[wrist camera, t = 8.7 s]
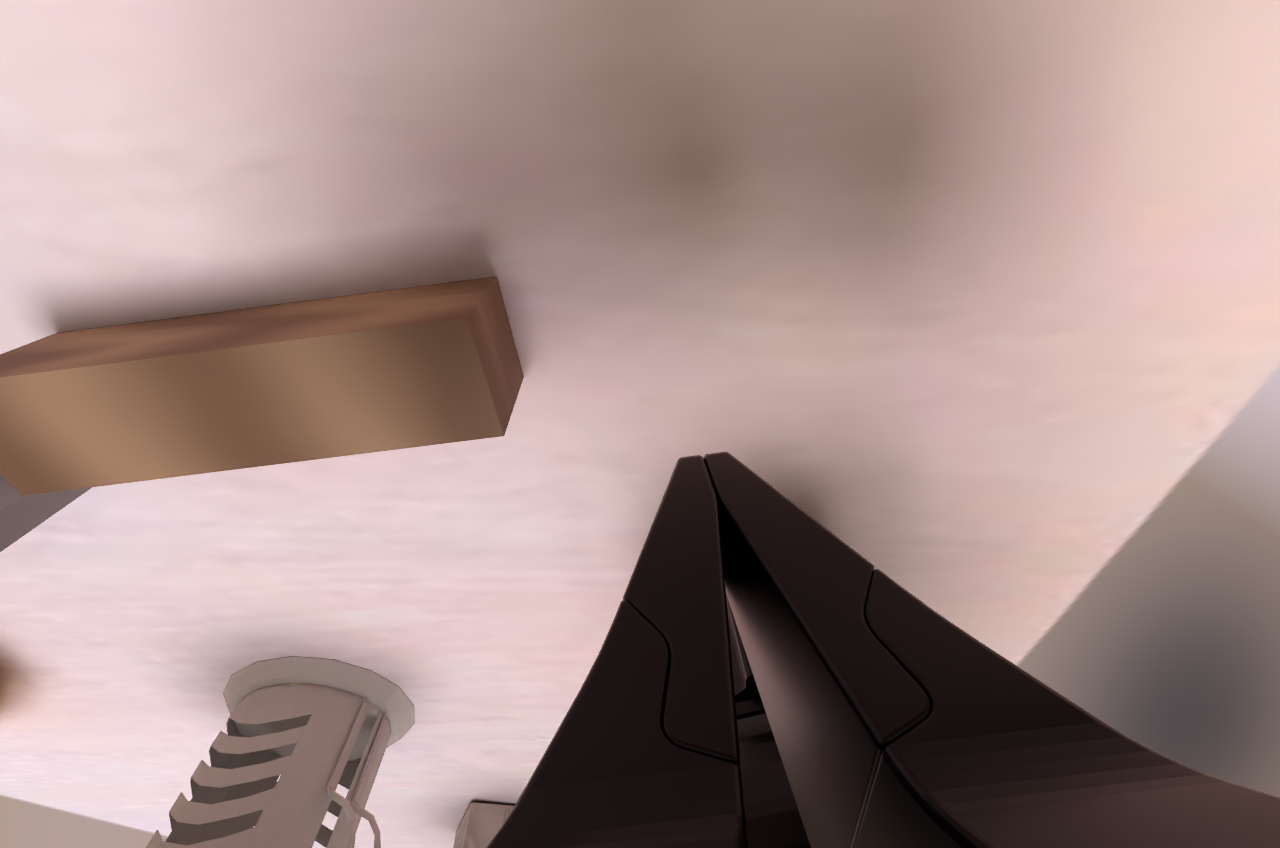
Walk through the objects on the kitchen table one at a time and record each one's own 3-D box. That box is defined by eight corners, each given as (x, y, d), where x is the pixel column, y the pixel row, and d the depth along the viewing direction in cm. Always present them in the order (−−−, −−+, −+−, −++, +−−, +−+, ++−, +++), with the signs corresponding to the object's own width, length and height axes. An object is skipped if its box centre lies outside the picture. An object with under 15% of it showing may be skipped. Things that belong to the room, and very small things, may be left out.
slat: (137, 422, 17) (22, 495, 14) (64, 329, 15) (-89, 389, 12) (524, 373, 17) (503, 435, 14) (498, 274, 15) (466, 317, 12)
